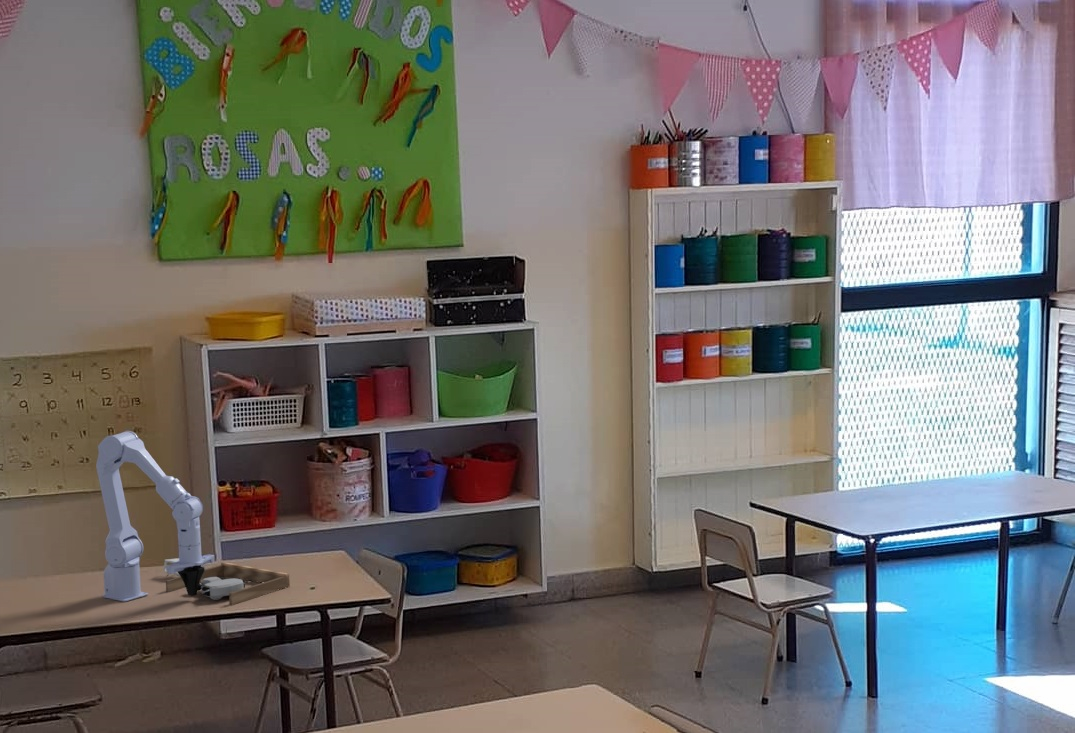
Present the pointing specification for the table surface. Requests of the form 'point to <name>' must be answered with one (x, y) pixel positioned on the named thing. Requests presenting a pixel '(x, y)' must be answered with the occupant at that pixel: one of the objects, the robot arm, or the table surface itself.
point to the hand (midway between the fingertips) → (192, 594)
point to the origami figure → (174, 562)
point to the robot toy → (220, 586)
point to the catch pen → (270, 578)
